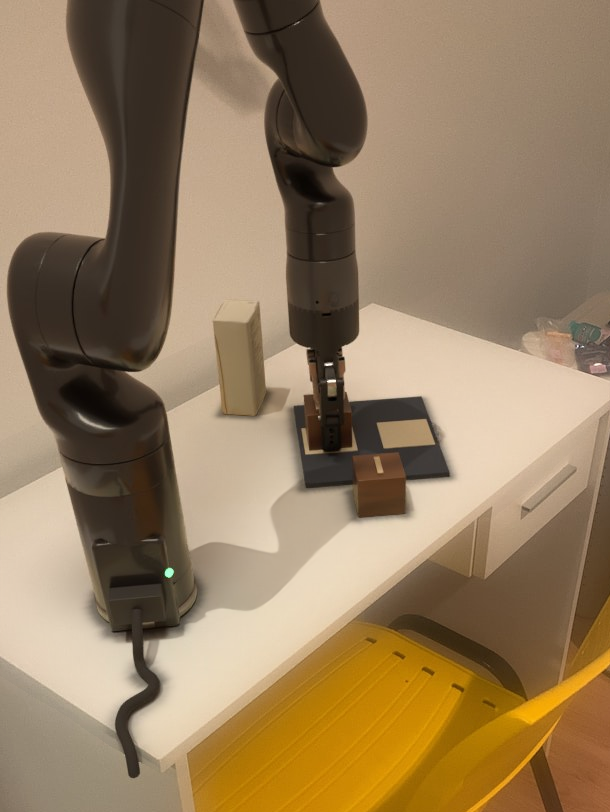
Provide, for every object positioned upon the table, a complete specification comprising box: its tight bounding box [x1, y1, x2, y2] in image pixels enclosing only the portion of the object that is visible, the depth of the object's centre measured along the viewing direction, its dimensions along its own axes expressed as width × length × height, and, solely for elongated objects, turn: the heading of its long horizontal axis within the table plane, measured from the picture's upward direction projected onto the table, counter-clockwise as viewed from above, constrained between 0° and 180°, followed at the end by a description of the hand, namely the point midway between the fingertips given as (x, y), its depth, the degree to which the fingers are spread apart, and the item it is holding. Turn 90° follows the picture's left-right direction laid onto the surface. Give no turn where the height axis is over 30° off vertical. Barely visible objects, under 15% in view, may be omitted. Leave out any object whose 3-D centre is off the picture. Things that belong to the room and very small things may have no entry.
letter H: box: [303, 391, 352, 451], centre depth 110 cm, size 5×5×5 cm
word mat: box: [293, 396, 450, 489], centre depth 112 cm, size 18×16×1 cm
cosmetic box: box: [212, 298, 267, 417], centre depth 116 cm, size 6×4×12 cm
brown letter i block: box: [352, 452, 407, 518], centre depth 101 cm, size 5×5×5 cm
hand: (328, 436), depth 111 cm, fingers open, 5 cm apart
